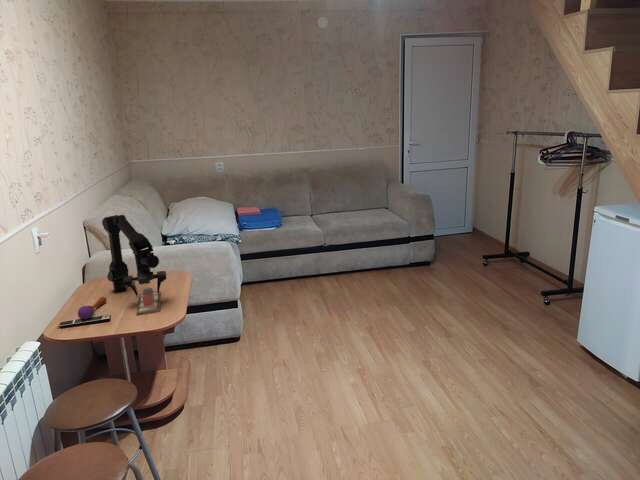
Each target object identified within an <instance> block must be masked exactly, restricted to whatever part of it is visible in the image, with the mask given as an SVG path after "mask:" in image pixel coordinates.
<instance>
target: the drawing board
mask: <svg viewBox="0 0 640 480" xmlns="http://www.w3.org/2000/svg"><path fill="white" fill-rule="evenodd" d="M161 292H162V291H161V290H159V294H158V292H157V291H153V295H154V300H153V305H149V306H144V304H143V298H142V297H143V293H140V294H138V301H137V306H136V307H137V308H136V316H141V315H147V314H155V313H160V312H161V295H162V293H161Z"/></svg>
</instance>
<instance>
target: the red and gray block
mask: <svg viewBox="0 0 640 480" xmlns="http://www.w3.org/2000/svg"><path fill="white" fill-rule="evenodd" d="M153 290H154V289H153V287H148V288H143V290H142V294H143V297H142V298H143V304H144V306H149V305H153V300H154V295H153V292H154V291H153Z"/></svg>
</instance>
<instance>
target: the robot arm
mask: <svg viewBox="0 0 640 480" xmlns="http://www.w3.org/2000/svg"><path fill="white" fill-rule="evenodd" d="M101 223H102V226H103V229H104V230H105V232H106V233H107V234H108V241H109V248H110V256H111V262H110V264H109V267H108V269H109V270H108V273H107V276H106V277H107V280H108V281H109V282H112V285H113V290H112V293H113V294H115V293H123V292H127V291H128V288H130V289H132V291H133V293H134V294H135V296H136V297H137V298H139V294H138V289H137V285H136V282H138V284H139V285H145V284H146V285H147V284H150V283H151V281H153V280H155V279H156V280H157V281H156V284H157V285H156V286H157V290H156V292H158V294H159V291H160V288H161V284H162V282H165V281H166V280H167V272H166V271H165V270H160V271H156V273H154V272H153V271H151V269H155V268H156V267H158V265H159V264H160V260H159V257H158V256H156V255H155V253H154V249H153V248H154V247H153V245H152V244H151V242H150V240H149V239H148V237H146V236H145V235H144V234H143V233H140V232H138V231H137V230H136V229H135V228H134V227H133V226H132V225H131V223H130V222H129V221H128V220H127V217H126V216H125V214H119V215H118V214H114V215H110V216H104V217H103V219H102V220H101ZM121 232H122V233H123V234H124V236H125V238H127V240H128V245H129V248H130V250H132V254H133V255H134V260H135V266H136V271H137V272H136V277H134V276H133V274H132V275H129V268H128V264H126V263H125V261H124V260H123V253H122V246H121V245H122V244H121V238H120V233H121Z"/></svg>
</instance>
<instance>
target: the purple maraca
mask: <svg viewBox="0 0 640 480" xmlns="http://www.w3.org/2000/svg"><path fill="white" fill-rule="evenodd" d="M106 302H107V297H105V296H100V298H99V299H97V301H96V302H95V303H94V304H93V305H83V306H81V307H80V308H79V309H78V310H77V316H78V318H79V319H81V320H88V319H87V318H89V319H91V317H92V316H93V313H94V311H95V308H97V307H99V306H102V305H104V304H107V303H106Z"/></svg>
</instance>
